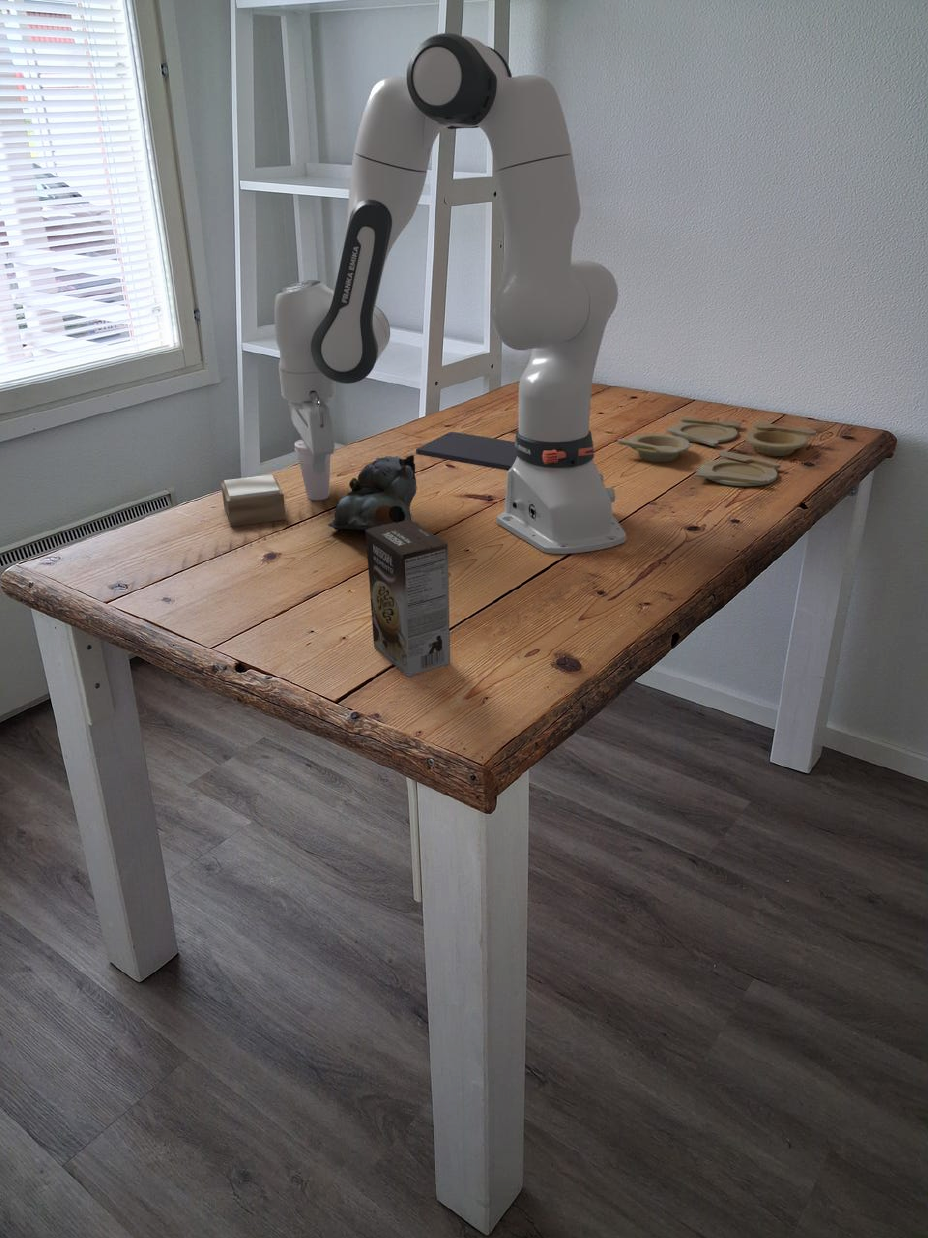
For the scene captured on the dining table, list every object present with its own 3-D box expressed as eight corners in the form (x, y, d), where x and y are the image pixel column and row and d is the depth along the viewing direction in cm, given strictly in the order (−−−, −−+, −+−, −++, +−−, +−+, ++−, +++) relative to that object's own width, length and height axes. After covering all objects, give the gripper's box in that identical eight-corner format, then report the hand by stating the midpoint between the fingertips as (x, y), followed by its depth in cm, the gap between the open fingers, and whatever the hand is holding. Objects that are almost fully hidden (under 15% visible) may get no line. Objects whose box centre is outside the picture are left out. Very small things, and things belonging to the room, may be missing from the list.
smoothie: (318, 487, 177) (311, 409, 171) (344, 495, 174) (338, 416, 167) (291, 497, 173) (283, 418, 166) (317, 506, 169) (309, 425, 163)
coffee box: (371, 647, 126) (363, 528, 118) (416, 634, 129) (410, 516, 121) (406, 679, 119) (400, 554, 111) (452, 663, 122) (449, 541, 114)
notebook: (416, 456, 193) (512, 474, 183) (415, 448, 193) (512, 465, 183) (450, 438, 203) (544, 454, 193) (450, 431, 202) (544, 446, 192)
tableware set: (755, 498, 170) (757, 475, 168) (604, 466, 186) (605, 445, 184) (827, 445, 195) (830, 424, 193) (688, 421, 210) (690, 401, 208)
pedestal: (286, 519, 164) (283, 490, 162) (230, 526, 162) (226, 497, 159) (277, 500, 172) (274, 473, 170) (224, 507, 169) (220, 479, 167)
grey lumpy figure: (317, 525, 161) (336, 441, 161) (385, 542, 167) (403, 460, 166) (349, 530, 148) (370, 438, 148) (421, 548, 154) (441, 459, 153)
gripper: (340, 398, 156) (346, 482, 163) (315, 368, 174) (321, 445, 180) (300, 402, 155) (308, 487, 161) (278, 372, 172) (286, 449, 178)
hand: (315, 465), depth 171 cm, fingers closed on smoothie, 6 cm apart
